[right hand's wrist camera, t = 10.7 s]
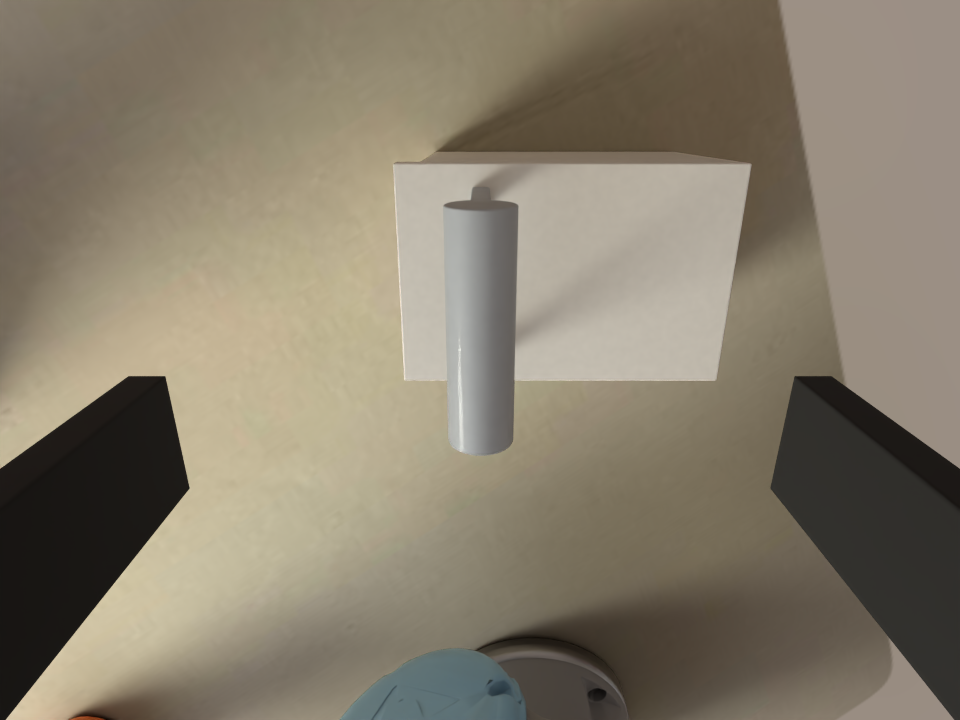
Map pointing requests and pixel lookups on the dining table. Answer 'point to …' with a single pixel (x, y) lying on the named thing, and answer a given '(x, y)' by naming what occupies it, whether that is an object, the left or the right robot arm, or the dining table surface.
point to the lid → (561, 277)
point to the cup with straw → (86, 718)
